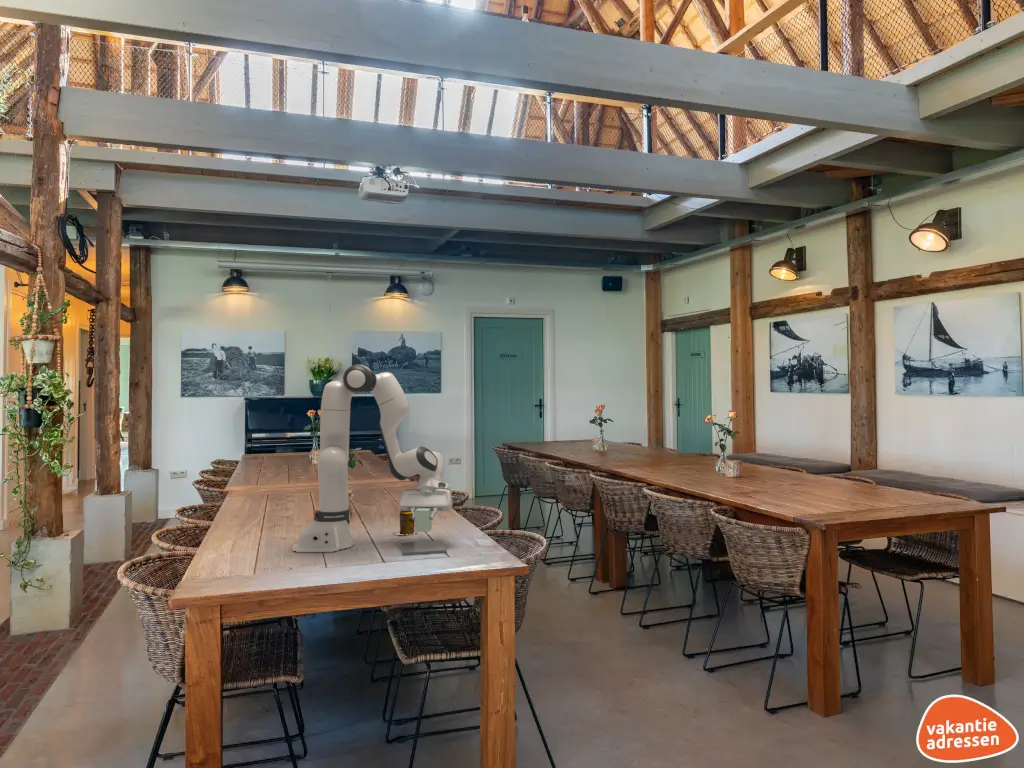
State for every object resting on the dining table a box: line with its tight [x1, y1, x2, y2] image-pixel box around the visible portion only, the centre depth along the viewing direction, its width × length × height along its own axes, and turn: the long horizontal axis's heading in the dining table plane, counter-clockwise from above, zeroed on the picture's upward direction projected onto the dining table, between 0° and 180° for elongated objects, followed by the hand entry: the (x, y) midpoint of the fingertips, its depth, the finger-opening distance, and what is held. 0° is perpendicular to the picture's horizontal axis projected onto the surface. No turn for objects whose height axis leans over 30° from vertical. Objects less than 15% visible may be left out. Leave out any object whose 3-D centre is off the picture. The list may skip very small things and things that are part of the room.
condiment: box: [393, 509, 415, 536], centre depth 288 cm, size 7×8×12 cm
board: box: [400, 540, 448, 556], centre depth 260 cm, size 16×16×1 cm
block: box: [414, 508, 433, 533], centre depth 260 cm, size 5×5×8 cm
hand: (422, 519), depth 260 cm, fingers closed on block, 5 cm apart
